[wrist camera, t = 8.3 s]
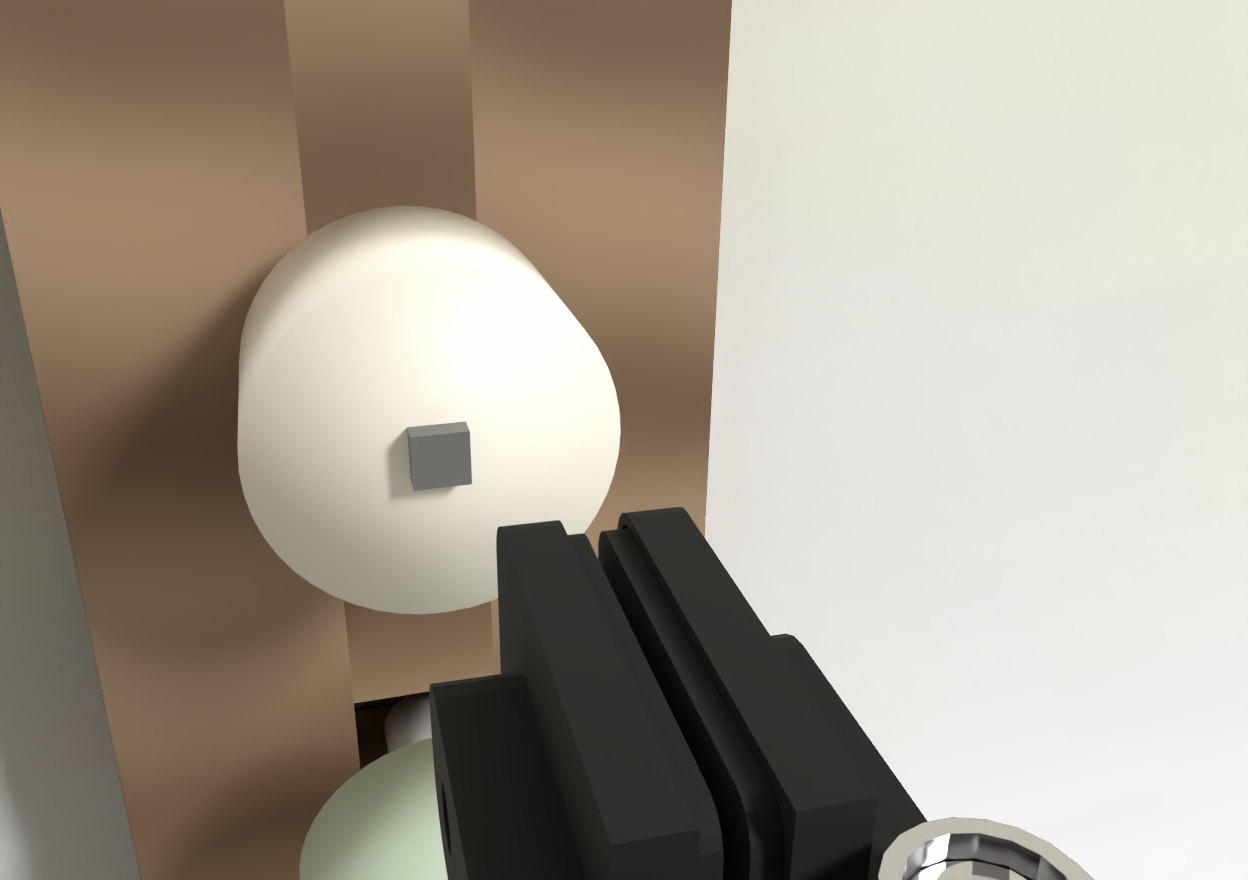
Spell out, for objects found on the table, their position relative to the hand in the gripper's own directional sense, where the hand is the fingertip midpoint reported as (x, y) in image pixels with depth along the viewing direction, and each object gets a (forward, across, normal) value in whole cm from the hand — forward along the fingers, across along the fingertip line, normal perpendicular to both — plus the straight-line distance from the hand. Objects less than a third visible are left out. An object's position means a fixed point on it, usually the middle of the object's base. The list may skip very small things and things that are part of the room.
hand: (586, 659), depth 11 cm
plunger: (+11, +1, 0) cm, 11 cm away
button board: (+11, +1, +7) cm, 13 cm away
